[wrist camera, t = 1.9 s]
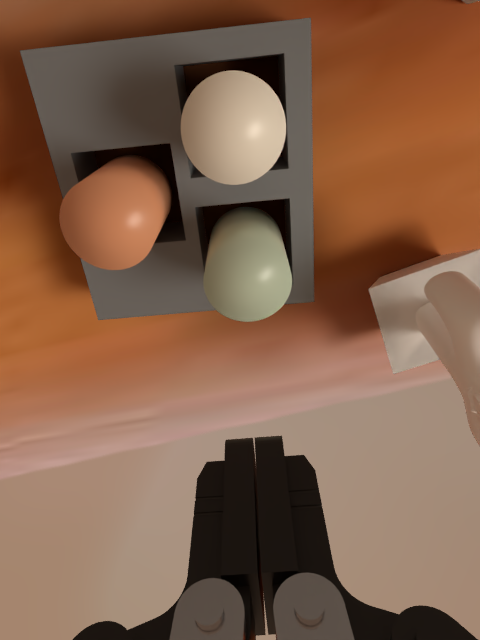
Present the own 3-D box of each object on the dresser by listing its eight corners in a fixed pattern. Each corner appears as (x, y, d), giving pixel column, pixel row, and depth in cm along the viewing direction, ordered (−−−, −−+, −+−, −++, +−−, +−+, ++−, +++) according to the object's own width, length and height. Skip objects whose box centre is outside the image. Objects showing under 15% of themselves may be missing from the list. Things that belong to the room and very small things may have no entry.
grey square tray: (300, 25, 24) (310, 17, 20) (305, 276, 31) (314, 301, 28) (50, 53, 25) (19, 50, 21) (113, 293, 32) (98, 320, 28)
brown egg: (165, 150, 24) (145, 172, 19) (178, 227, 26) (163, 265, 21) (87, 158, 24) (46, 182, 19) (106, 234, 27) (74, 274, 21)
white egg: (273, 66, 22) (283, 64, 17) (277, 156, 24) (288, 180, 19) (187, 75, 22) (172, 76, 17) (199, 164, 25) (189, 189, 19)
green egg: (279, 203, 26) (290, 236, 21) (283, 272, 28) (293, 318, 23) (205, 210, 26) (197, 245, 21) (214, 278, 28) (209, 324, 23)
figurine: (456, 214, 29) (633, 328, 16) (475, 326, 33) (627, 489, 20) (350, 253, 30) (434, 388, 17) (382, 356, 35) (468, 527, 22)
